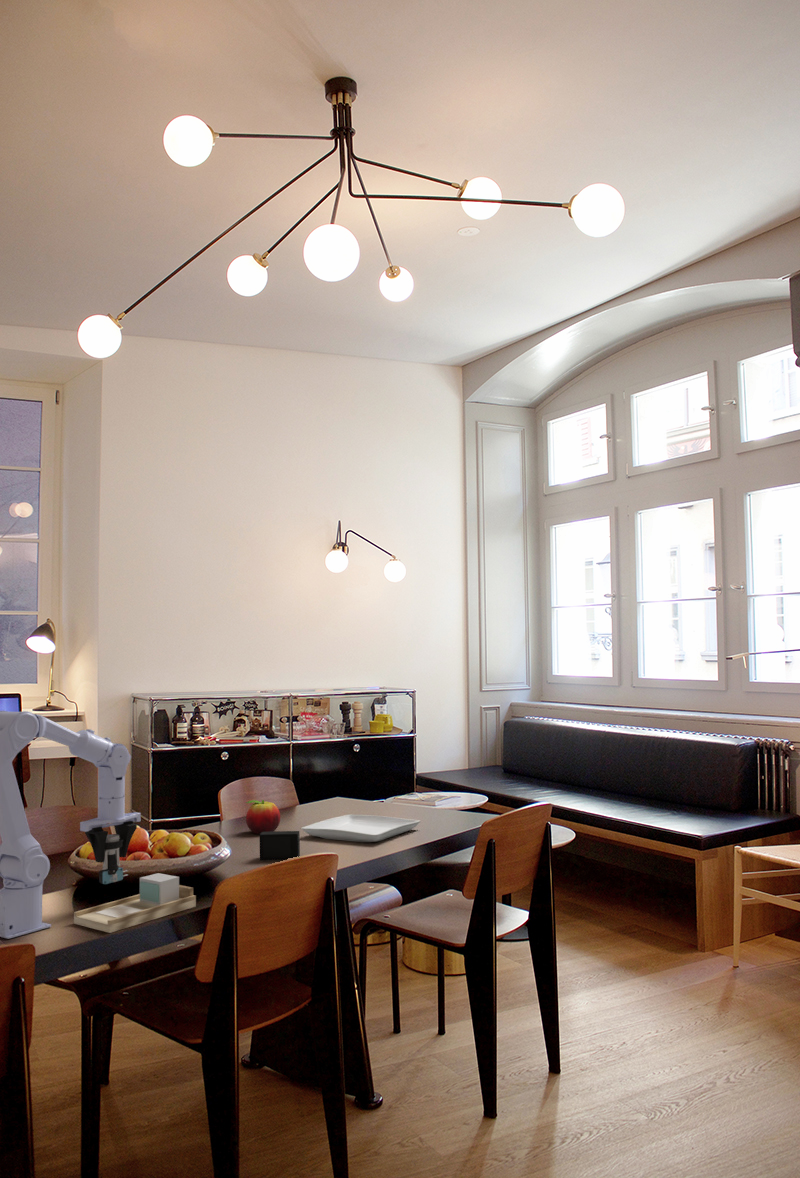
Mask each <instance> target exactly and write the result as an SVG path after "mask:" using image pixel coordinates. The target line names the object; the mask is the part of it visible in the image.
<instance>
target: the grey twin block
mask: <svg viewBox="0 0 800 1178" xmlns="http://www.w3.org/2000/svg"><path fill="white" fill-rule="evenodd" d="M179 885H180V876H176V875H170V874H165V873H159V872H158V873H153V874H150V875H146V876H141V877H139V894H140V902H145V903H150V904H154V905H162V904H165V903H168V902H172V901H175V900H178V899H179Z"/></svg>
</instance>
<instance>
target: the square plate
mask: <svg viewBox="0 0 800 1178" xmlns="http://www.w3.org/2000/svg"><path fill="white" fill-rule="evenodd" d="M420 823H421V820H420V819H410V818H401V817H394V816H384V815H373V814H370V815H369V814H350V813H349V814H344V815H340V816H335V817H331V818H327V819H324V820H321V821H317V822H314V823H311V824H308V825H306V826H302V827H301V828H300V829H301V830H303V832H305V833H306V834H307V835H310V836H313V837H320V838H322V839H326V840H337V841H347V842H357V843H376V842H381V841H384V840H386V839H388V838H389V839H390V838H392V837H395V836H397V835H401V834H403V833H405V832H408V831H411V830H413V829H415V828H416V827H417V826H419V824H420Z"/></svg>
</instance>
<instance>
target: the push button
mask: <svg viewBox="0 0 800 1178" xmlns="http://www.w3.org/2000/svg"><path fill="white" fill-rule="evenodd" d="M122 842H123V838H120V837H119V835H118V834H116V833H112V834H111V833H110V834H109V833H108V834H107V838H106V843H105V859H104V862H102V868H101V870H99V871H98V882H99V883H100V884H103V885H108V884H111V883H116V882H120V881H123V879H124V877H126V876H128V874H124V873H127V872H128V870H124V868H123V867H120V866H121V864H120V857H119V848H120V847H122V846H123V844H122Z"/></svg>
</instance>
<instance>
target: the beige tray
mask: <svg viewBox="0 0 800 1178" xmlns="http://www.w3.org/2000/svg"><path fill="white" fill-rule="evenodd" d="M196 906H197V895H194V887H191V886H188V885H187V886H186V885H182V884H179V899H178V900H175V901H172V902H168V903H165V904H162V905H154V904H150V903H145V902H140V893H138V894H134V895H132V896H131V895H130V896H128V897H124V898H121V899H117V900H114V901H110V902H105V903H102V904H98V905H96V906H92V907H88V908H85V909H80V910H77V911H74V912H73V924H74V925H78V926H83V927H85V928H90V929H94V930H97V931H100V932H105V933H109V934H111V933H114V932H115V933H116V932H118V931H122V930H124V929H127V928H130V927H134V926H137V925H140V924H144V923H147V922H149V921H153V920H156V919H159V918H162V917H167V916H168V915H172V914H176V913H180V912H182V911H185V910H188V909H189V910H190V909H193V908H196Z"/></svg>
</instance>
